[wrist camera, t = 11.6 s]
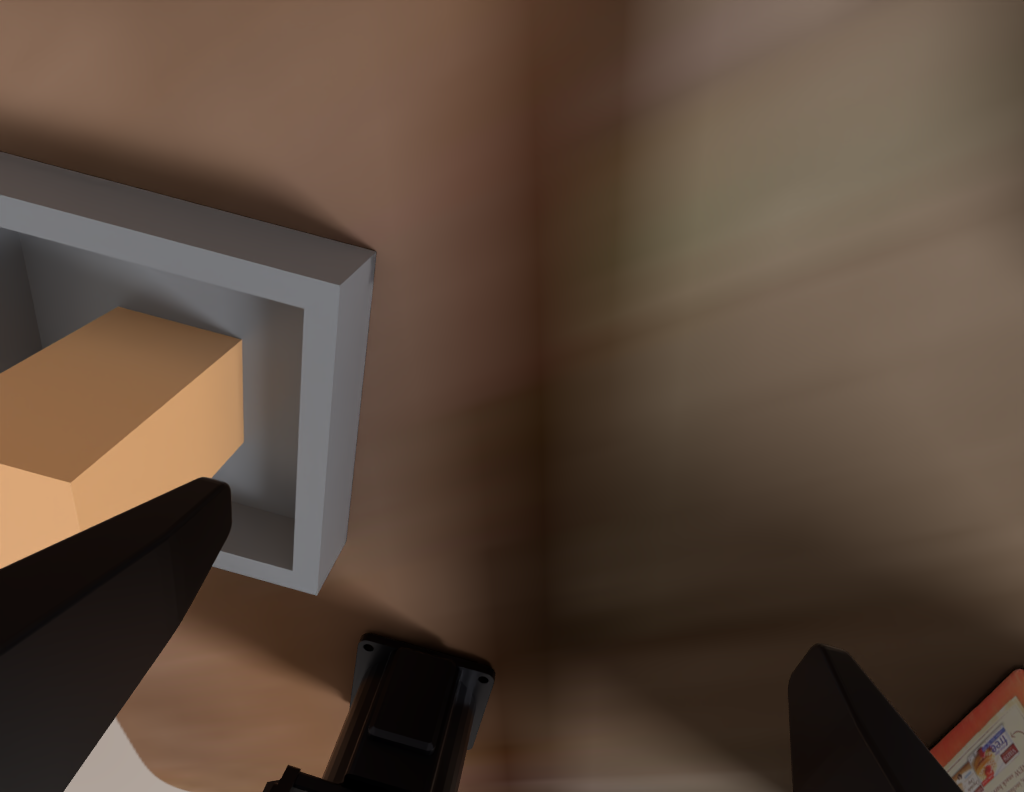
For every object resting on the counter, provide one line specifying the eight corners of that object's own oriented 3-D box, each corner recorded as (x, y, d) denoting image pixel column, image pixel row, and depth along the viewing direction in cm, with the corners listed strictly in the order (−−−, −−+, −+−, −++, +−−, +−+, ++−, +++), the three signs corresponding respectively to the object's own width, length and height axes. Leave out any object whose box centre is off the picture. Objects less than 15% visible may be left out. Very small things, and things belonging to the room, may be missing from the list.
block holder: (346, 541, 27) (316, 595, 25) (54, 460, 27) (-5, 506, 25) (376, 251, 20) (340, 285, 18) (-13, 148, 21) (-105, 166, 18)
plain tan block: (243, 441, 24) (95, 605, 18) (132, 411, 25) (-58, 562, 18) (242, 339, 22) (70, 483, 15) (118, 306, 22) (-108, 434, 15)
